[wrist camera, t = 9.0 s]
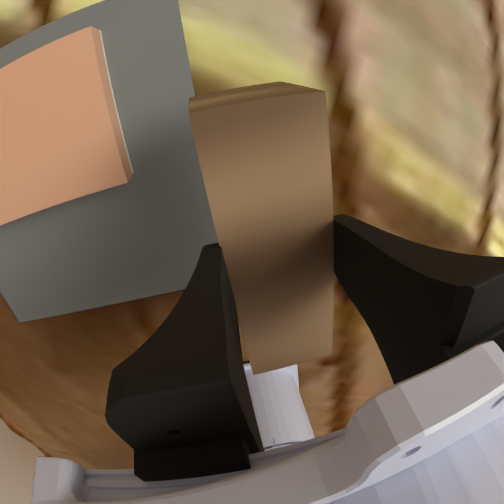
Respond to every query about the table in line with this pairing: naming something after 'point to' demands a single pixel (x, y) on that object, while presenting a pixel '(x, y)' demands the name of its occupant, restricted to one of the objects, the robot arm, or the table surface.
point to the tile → (59, 126)
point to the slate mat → (122, 196)
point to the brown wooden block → (272, 214)
